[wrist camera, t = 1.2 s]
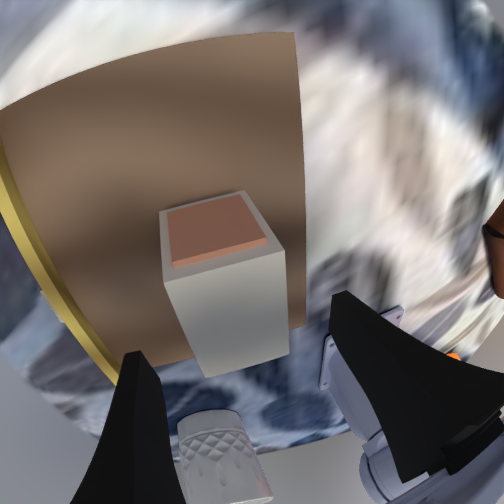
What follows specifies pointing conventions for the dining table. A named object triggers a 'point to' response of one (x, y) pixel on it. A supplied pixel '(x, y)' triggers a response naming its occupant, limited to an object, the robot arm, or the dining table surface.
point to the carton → (226, 282)
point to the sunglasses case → (496, 247)
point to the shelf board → (150, 180)
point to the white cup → (220, 460)
